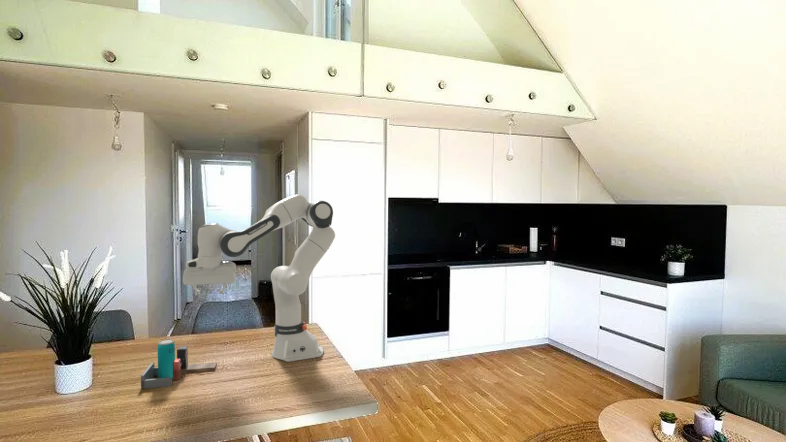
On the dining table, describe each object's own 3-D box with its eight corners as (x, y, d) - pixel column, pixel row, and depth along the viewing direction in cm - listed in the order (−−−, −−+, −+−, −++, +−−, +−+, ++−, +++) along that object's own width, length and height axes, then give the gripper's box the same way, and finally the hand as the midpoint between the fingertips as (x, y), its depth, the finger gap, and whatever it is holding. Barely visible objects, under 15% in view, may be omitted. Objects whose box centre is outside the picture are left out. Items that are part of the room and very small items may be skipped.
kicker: (187, 367, 167) (187, 346, 167) (180, 379, 157) (180, 356, 156) (179, 368, 167) (178, 346, 166) (171, 380, 156) (171, 357, 155)
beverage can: (178, 377, 159) (177, 339, 159) (169, 383, 154) (168, 344, 153) (164, 376, 160) (164, 338, 159) (154, 382, 154) (153, 343, 153)
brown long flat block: (216, 365, 171) (216, 362, 171) (214, 370, 166) (214, 367, 166) (174, 368, 167) (174, 365, 167) (171, 373, 162) (171, 370, 162)
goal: (179, 372, 163) (179, 360, 163) (171, 386, 152) (171, 373, 152) (151, 374, 161) (151, 362, 161) (141, 389, 149) (140, 375, 149)
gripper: (236, 260, 177) (237, 291, 178) (185, 261, 172) (185, 293, 173) (234, 262, 171) (235, 295, 172) (181, 263, 166) (181, 297, 167)
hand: (210, 294), depth 173 cm, fingers open, 8 cm apart
